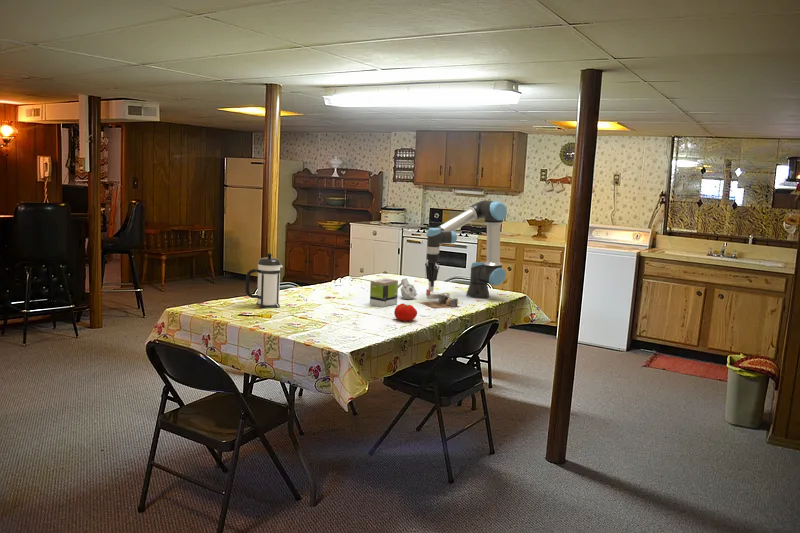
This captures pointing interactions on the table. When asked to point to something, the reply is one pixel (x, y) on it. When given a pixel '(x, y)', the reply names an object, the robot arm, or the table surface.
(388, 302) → the tea box
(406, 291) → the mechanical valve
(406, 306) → the tomato
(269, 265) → the coffee press
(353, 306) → the table surface
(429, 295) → the lever
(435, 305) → the board
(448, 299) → the walnut
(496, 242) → the robot arm
